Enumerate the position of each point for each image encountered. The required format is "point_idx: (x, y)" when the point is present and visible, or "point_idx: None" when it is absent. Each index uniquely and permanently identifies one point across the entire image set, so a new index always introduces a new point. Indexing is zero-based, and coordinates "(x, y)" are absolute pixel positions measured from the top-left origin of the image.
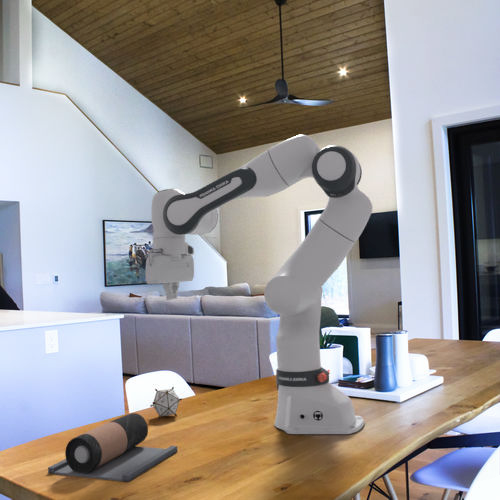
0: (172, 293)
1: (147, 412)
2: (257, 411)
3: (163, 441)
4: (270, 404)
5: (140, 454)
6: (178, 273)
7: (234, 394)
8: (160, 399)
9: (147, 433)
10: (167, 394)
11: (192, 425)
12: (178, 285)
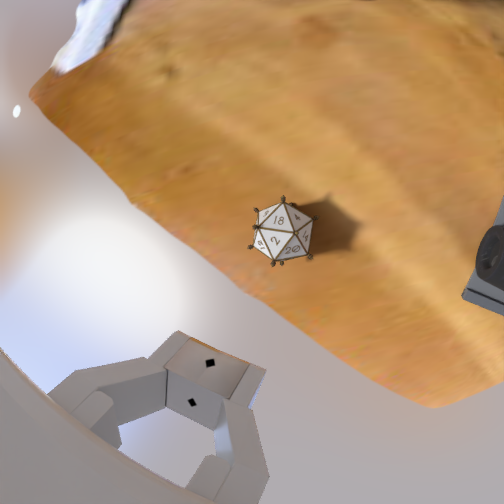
0: (236, 397)
1: (252, 270)
2: (258, 42)
3: (461, 197)
4: (204, 33)
5: None
6: (4, 486)
7: (128, 128)
8: (303, 243)
9: (497, 225)
10: (297, 230)
11: (363, 155)
12: (80, 383)
